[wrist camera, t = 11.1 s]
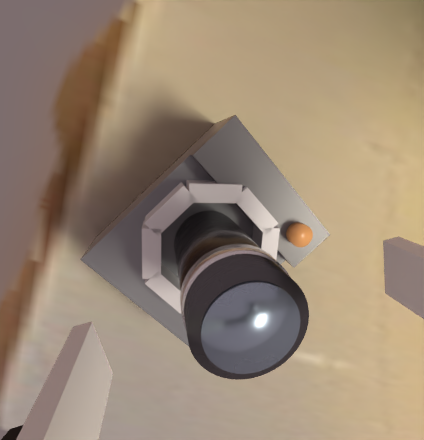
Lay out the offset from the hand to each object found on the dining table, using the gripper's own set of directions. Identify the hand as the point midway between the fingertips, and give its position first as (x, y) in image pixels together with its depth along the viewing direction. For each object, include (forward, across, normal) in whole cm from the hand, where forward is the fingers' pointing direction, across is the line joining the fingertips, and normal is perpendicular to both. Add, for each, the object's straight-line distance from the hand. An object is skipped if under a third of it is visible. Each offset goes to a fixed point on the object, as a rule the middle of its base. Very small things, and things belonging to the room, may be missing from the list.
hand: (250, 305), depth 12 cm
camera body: (+14, -1, 0) cm, 14 cm away
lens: (+9, -1, 0) cm, 9 cm away
